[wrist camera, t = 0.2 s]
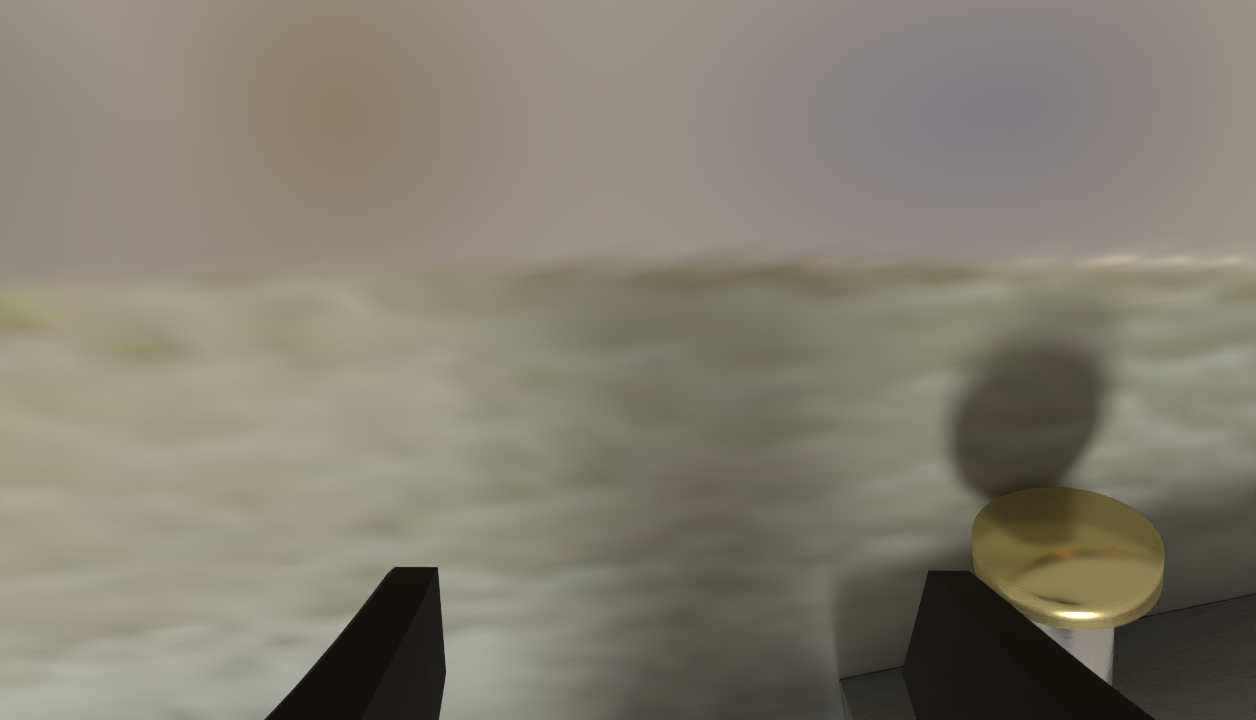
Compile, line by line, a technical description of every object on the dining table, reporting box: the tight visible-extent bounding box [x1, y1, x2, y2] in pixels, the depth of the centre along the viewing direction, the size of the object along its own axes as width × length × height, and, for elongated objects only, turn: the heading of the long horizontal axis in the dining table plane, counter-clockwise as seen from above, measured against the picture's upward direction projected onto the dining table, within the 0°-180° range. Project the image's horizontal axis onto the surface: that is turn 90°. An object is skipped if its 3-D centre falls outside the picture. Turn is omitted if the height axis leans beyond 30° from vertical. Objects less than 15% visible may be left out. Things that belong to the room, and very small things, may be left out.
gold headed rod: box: [971, 487, 1165, 686], centre depth 22 cm, size 10×4×4 cm, turn 14°
